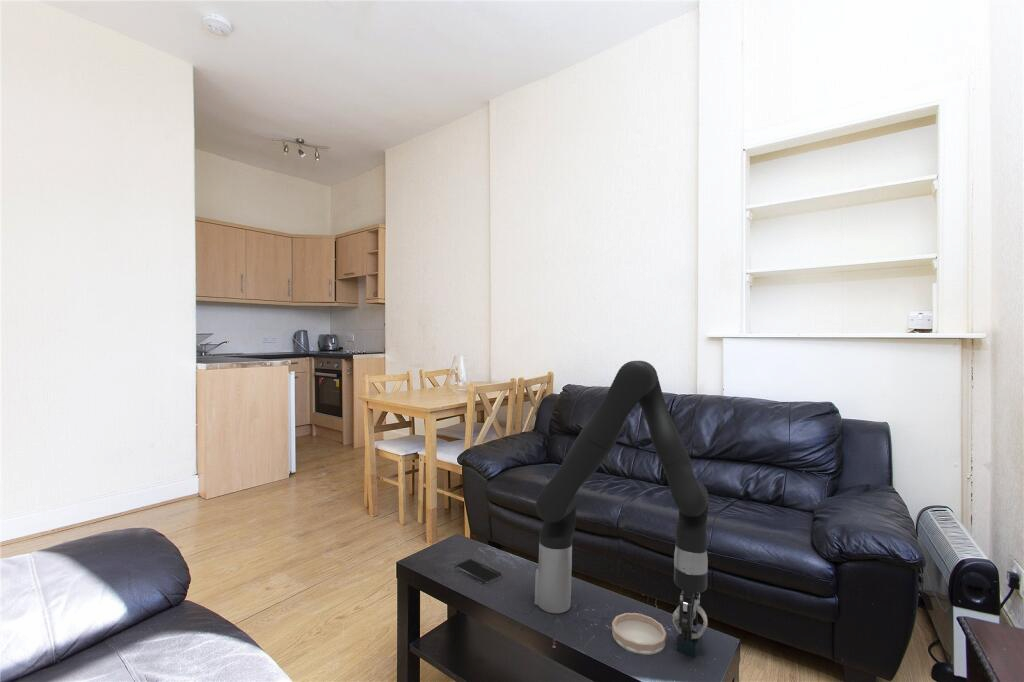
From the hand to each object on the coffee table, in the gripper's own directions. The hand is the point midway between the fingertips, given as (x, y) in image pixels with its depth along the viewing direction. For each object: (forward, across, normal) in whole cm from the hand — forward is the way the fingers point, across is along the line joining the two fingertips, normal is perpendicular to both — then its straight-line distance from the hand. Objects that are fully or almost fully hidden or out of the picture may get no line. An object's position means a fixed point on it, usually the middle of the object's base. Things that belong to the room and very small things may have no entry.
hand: (689, 633), depth 108 cm
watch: (+4, 0, 0) cm, 4 cm away
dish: (+4, +2, -12) cm, 12 cm away
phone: (+4, -2, -64) cm, 64 cm away
